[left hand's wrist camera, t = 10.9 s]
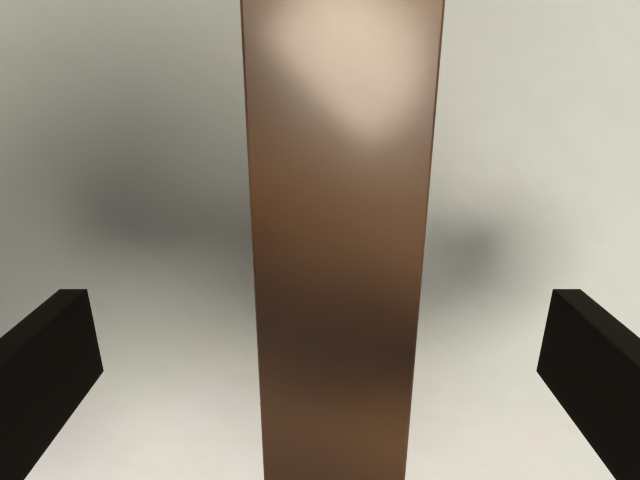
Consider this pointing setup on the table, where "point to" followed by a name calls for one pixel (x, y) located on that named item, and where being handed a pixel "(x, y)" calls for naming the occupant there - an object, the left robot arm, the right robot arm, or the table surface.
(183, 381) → the table surface
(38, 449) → the left robot arm
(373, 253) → the post
